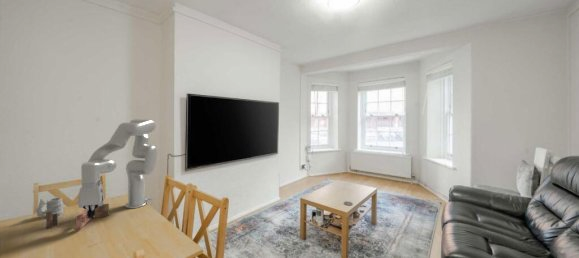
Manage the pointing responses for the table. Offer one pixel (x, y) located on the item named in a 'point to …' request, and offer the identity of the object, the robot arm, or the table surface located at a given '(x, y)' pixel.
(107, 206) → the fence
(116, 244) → the table surface
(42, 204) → the mug
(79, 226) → the gate
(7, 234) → the table surface
